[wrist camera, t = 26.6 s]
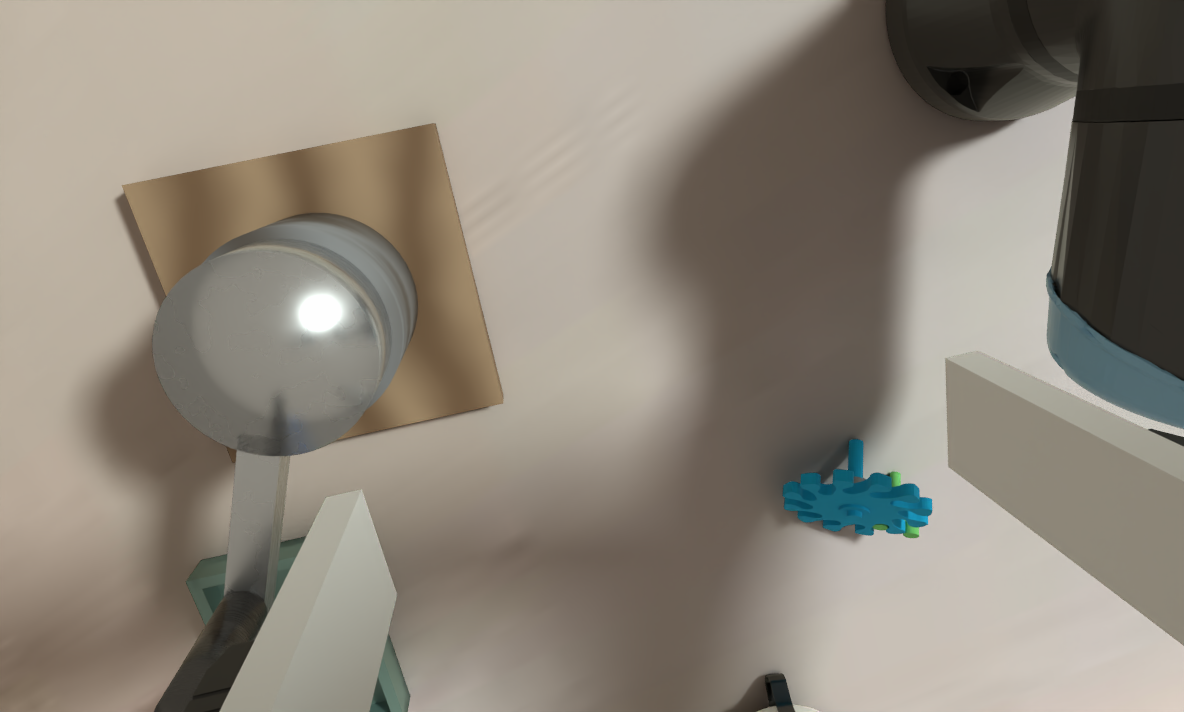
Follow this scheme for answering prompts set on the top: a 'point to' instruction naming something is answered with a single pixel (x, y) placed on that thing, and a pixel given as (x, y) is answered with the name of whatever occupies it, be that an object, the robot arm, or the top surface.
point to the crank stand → (349, 253)
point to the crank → (265, 399)
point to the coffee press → (781, 696)
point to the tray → (209, 592)
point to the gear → (859, 500)
